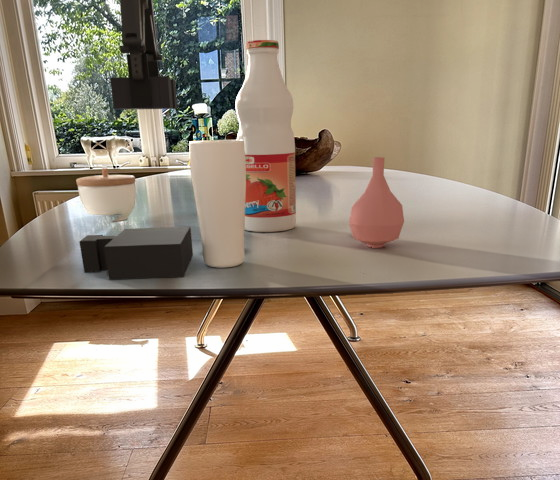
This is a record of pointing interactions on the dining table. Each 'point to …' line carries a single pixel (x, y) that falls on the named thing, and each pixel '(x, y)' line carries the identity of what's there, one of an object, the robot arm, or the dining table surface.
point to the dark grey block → (160, 93)
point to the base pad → (139, 253)
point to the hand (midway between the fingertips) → (147, 107)
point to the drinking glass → (220, 199)
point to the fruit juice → (267, 141)
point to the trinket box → (108, 194)
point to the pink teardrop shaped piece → (376, 211)
